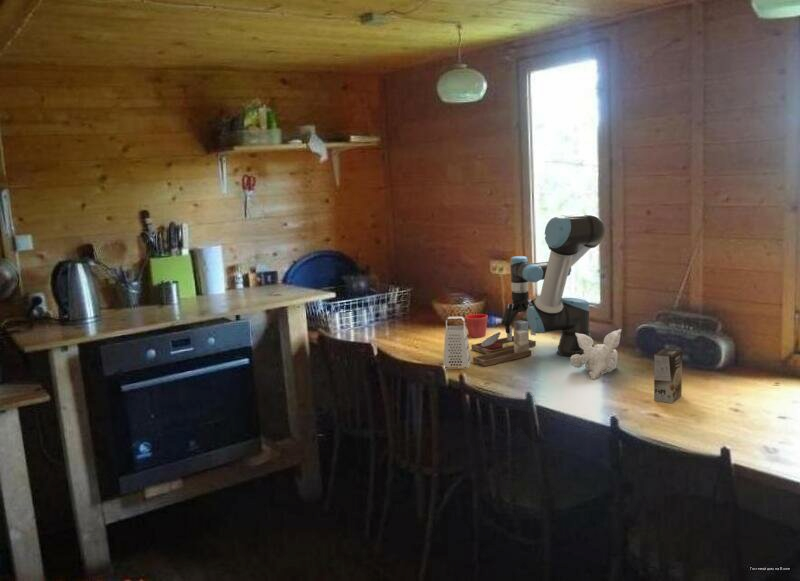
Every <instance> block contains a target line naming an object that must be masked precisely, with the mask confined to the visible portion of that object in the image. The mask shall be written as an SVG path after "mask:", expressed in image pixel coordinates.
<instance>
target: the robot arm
mask: <svg viewBox="0 0 800 581" xmlns="http://www.w3.org/2000/svg"><path fill="white" fill-rule="evenodd" d="M544 235H545V236H544V240H545V243H546V245H547V247H548V249H549V251H550V254H549V257H548V261H543V262H534V263H533V262H532V263H530V262H529V259H528V257H527V256H523V255H519V256H518V255H517V256H512V257H511V258H510V266H509V267H510V287H511V289H510V291H511V301H512V303H506V308H505V311H504V315H503V317H502V320H501V325H502V326H504V327H505V328H504V329H505V333H506V337H507V340H510V341H511V342H513V341H512V336H513V326H512V323H513V322H514V319H515V317H516V316H517V315H518V314H519V313H522V312H523V313H524V312H525V313H526V320H527V321H526V322H528V327H529V329H530V335H531V336H537V334H546V333H553V332H561V336H560V339H559V343H558V345H557V354H558V355H561V356H565V357H570V358H571V356H572V355H575V354H580V355H582V354H585V353H584V352H583V351H584V350H583V349H582V348H580V347H579V343H578V341H577V337H576V335H575V333H578V334H585V335H587V336H589V337H591V334H590V332H591V331H590V311H591V310H590V304H589V301H588V300H585V299H583V298H575V297H563V294H564V291H565V288H566V284H567V281H568V280H567V279H568V277H569V276H570V275H571V273H572V267H573V266H575V264H576V263H577V262H578V261H579V260H581V258H582V257H584V256H585V255H586V253H587V252H589V250H591V249H594V248H596V247H598V245H599V244H601V243H602V242H603V240H604V239H605V236H606V225H605V223H604V221H603V220H602V219H601V218H600V217H599V216H597V215H595V214H592V213H583V214H574V215H573V214H572V215H559V216H555V217H552V218H551V219H549V220H548V222H547V223H546V225H545V229H544ZM542 280H543V281H542ZM539 281H542V287H541V291H540V295H539V296H538V297H536V298H535V300H534V299H532V298H531V299H530V298H529V296H530V295H529V293H530V292H529V289H530V288H529V283H538V282H539ZM594 346H595V345H594V344H593V345H592V347H593V348H594Z"/></svg>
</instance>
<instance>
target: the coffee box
mask: <svg viewBox="0 0 800 581" xmlns="http://www.w3.org/2000/svg"><path fill="white" fill-rule="evenodd" d="M653 355H654V356H653V357H654V358H653V359H654V360H653V362H654V364H653V365H654V366H653V368H654V369H653V370H654V371H653V372H654V374H653V378H654V379H653V380H654V381H653V400H654V401H656V402H662V403H667V404H674V402H676V401H677V400H678V399H680V398H681V397H682V395H683V394H682V391H683V389H682V388H683V387H682V384H683V350H679V349H674V348H672V349H671V348H670V349H669V348H663V349H661V350H660V351H658V352H656V353H654V354H653Z"/></svg>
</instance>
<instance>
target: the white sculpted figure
mask: <svg viewBox="0 0 800 581" xmlns="http://www.w3.org/2000/svg"><path fill="white" fill-rule="evenodd" d="M621 333H622V328H619V329H617V330H613V331H611V332H610V333H608V334H606V336H604V338H603V343H602V344H598V343H597V344H595V345H594V342H595V341H594V339H592V337H591V336H590V337H589V336H587V335H585V334H578V333H575V335H576V337H577V341H578V343H579V347H580V348H582V349H583V350H584V351H583V352H584V353H585V354H582V355H580V354H575V355H572V356H571V357H570V358H569V359H570V365H571V366H572V367H574V368H582V367H583V365H584V368H585V369H586V370H587V371H588V372H589V371H591V372H589V373H588V375H589V376H590V379H591V380H596V379H598V378H600V375H602V376H604V374H608V373H612V371H614V370H616V369H617V368H616V367H617V364H618V358H619V355H618V354H619V352H618V351H617V350H616V348H618V346H619V345H620V340H621ZM592 345H593V346H594V348H593V347H592ZM607 372H608V373H607Z"/></svg>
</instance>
